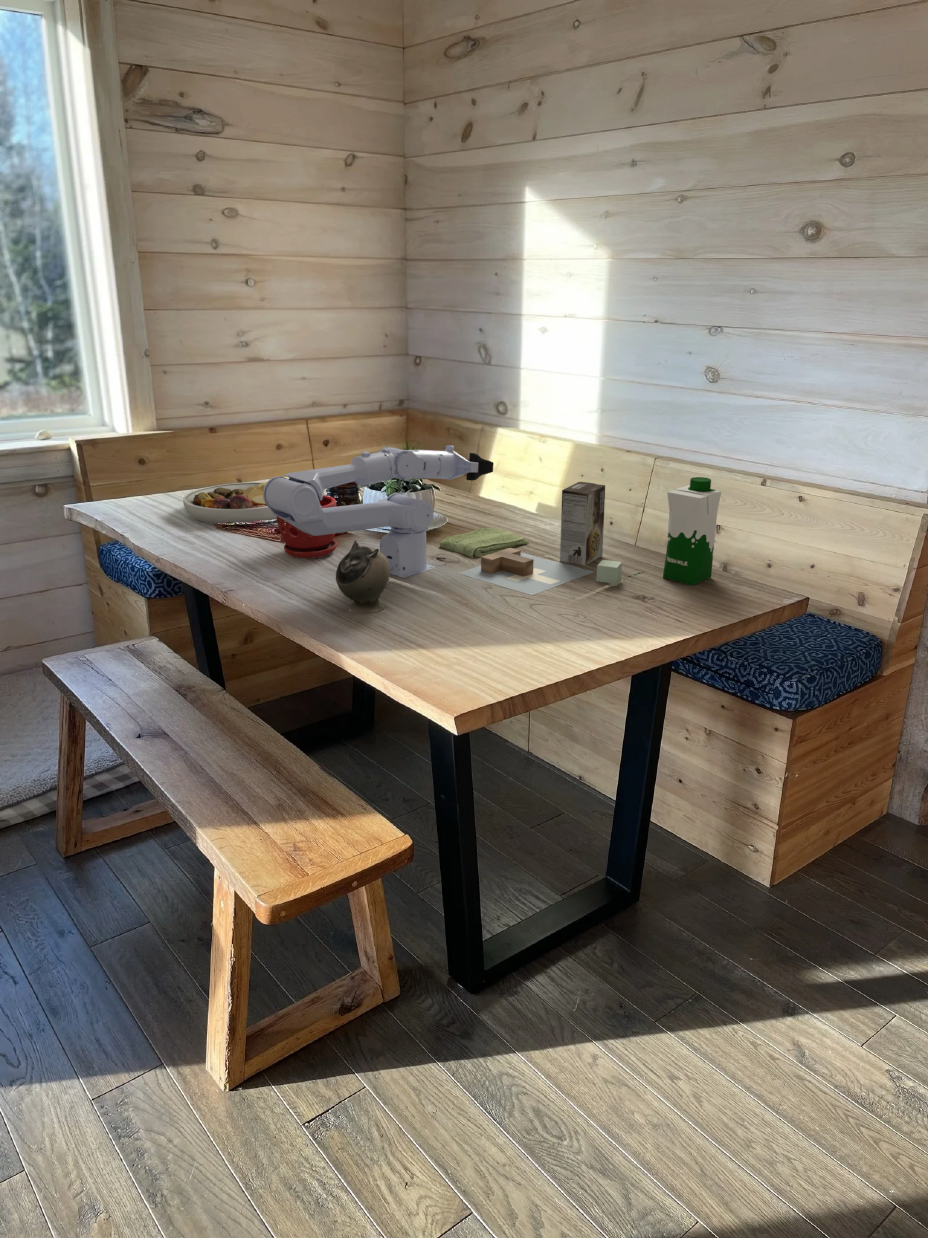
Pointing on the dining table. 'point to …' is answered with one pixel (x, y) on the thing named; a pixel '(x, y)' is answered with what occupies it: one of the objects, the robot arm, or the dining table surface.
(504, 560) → the tee block
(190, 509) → the bowl
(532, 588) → the board
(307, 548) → the plant pot
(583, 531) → the coffee box
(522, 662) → the dining table surface
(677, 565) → the milk carton
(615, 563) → the sage cube
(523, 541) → the washcloth
